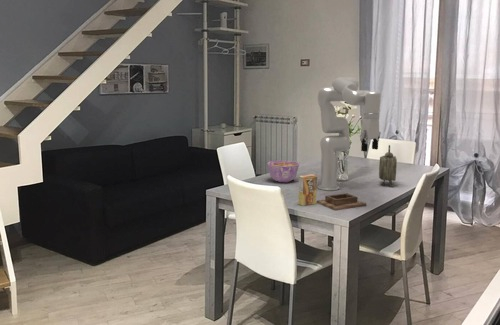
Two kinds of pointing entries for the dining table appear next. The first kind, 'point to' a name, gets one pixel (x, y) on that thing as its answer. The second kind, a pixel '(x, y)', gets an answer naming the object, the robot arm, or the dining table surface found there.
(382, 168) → the tabletop clock
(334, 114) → the robot arm
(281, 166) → the bowl of food
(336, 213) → the dining table surface
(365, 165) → the dining table surface
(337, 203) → the pocket stand
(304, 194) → the candy box
